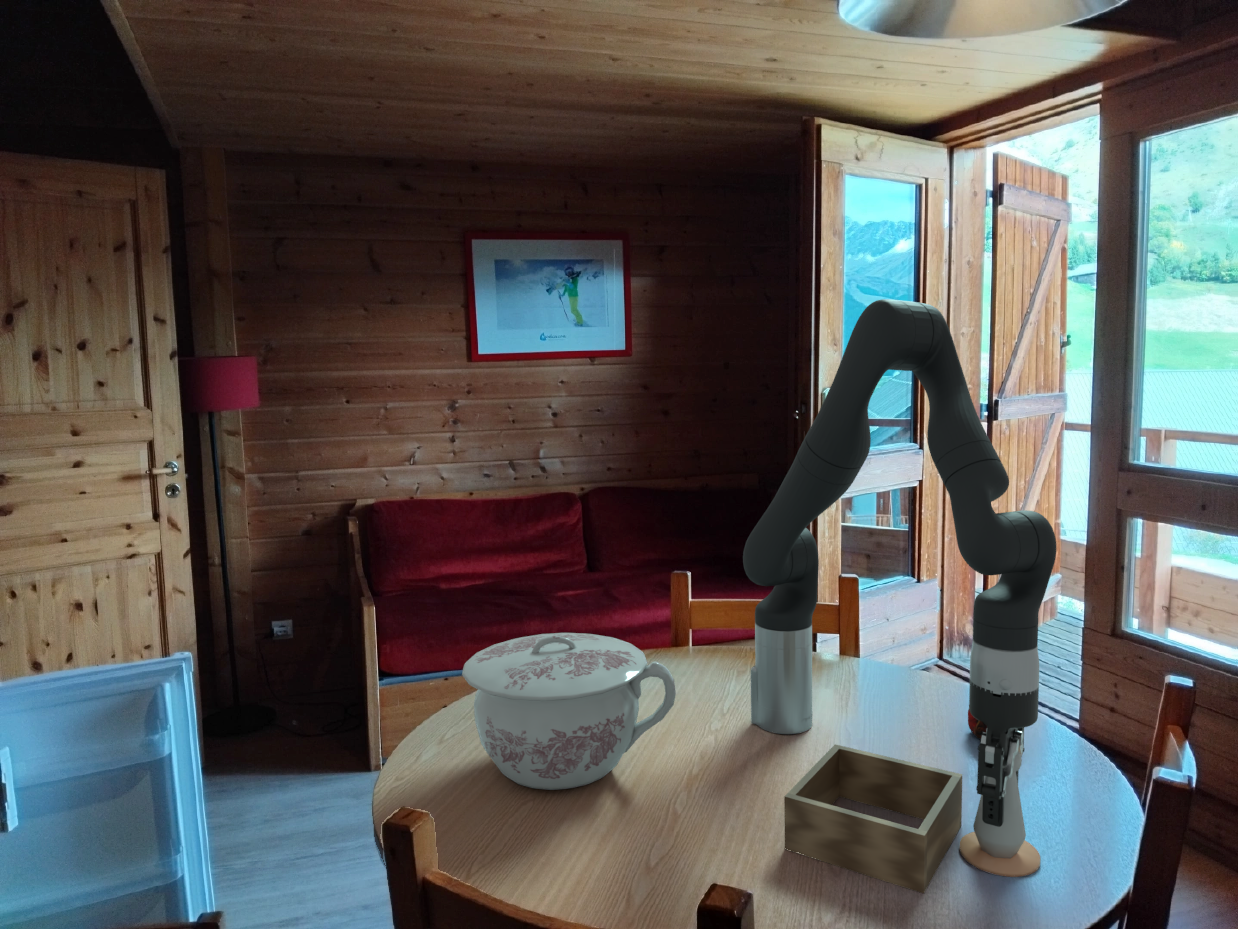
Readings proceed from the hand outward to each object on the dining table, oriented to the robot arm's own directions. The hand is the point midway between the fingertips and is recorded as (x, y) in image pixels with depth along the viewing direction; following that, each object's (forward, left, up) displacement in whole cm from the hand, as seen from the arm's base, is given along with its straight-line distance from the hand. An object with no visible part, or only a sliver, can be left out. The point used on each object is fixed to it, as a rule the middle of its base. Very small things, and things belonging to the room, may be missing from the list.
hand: (1000, 808), depth 106 cm
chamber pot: (-60, -10, -6) cm, 61 cm away
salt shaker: (0, 0, -6) cm, 6 cm away
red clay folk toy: (-8, +34, -6) cm, 36 cm away
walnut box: (-14, -4, -6) cm, 16 cm away
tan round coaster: (0, 0, -6) cm, 6 cm away
